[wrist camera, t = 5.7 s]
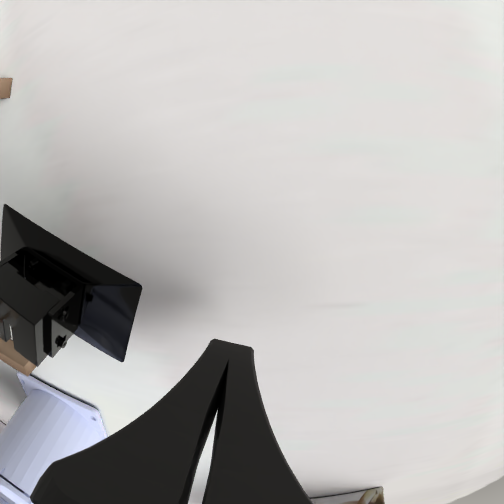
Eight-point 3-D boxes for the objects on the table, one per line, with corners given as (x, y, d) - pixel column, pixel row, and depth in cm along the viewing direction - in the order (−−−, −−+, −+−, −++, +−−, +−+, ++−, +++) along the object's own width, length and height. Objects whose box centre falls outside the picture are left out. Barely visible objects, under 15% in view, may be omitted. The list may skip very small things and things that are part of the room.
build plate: (-7, 274, 15) (-51, 308, 10) (-3, 171, 12) (-65, 194, 7) (146, 375, 16) (116, 436, 11) (185, 277, 13) (144, 346, 9)
